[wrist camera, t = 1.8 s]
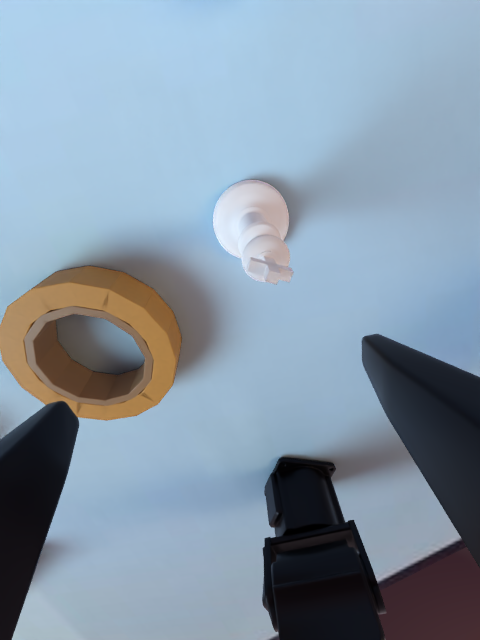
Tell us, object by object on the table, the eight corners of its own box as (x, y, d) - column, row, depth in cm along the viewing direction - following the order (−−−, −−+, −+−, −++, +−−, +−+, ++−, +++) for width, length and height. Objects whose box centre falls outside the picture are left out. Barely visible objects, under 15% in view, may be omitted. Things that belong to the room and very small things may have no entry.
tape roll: (190, 284, 21) (185, 302, 19) (172, 400, 27) (166, 427, 24) (15, 251, 19) (-18, 266, 17) (34, 382, 25) (12, 409, 22)
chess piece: (224, 168, 18) (224, 183, 9) (299, 193, 18) (367, 229, 10) (205, 247, 20) (190, 320, 11) (273, 265, 21) (309, 347, 12)
